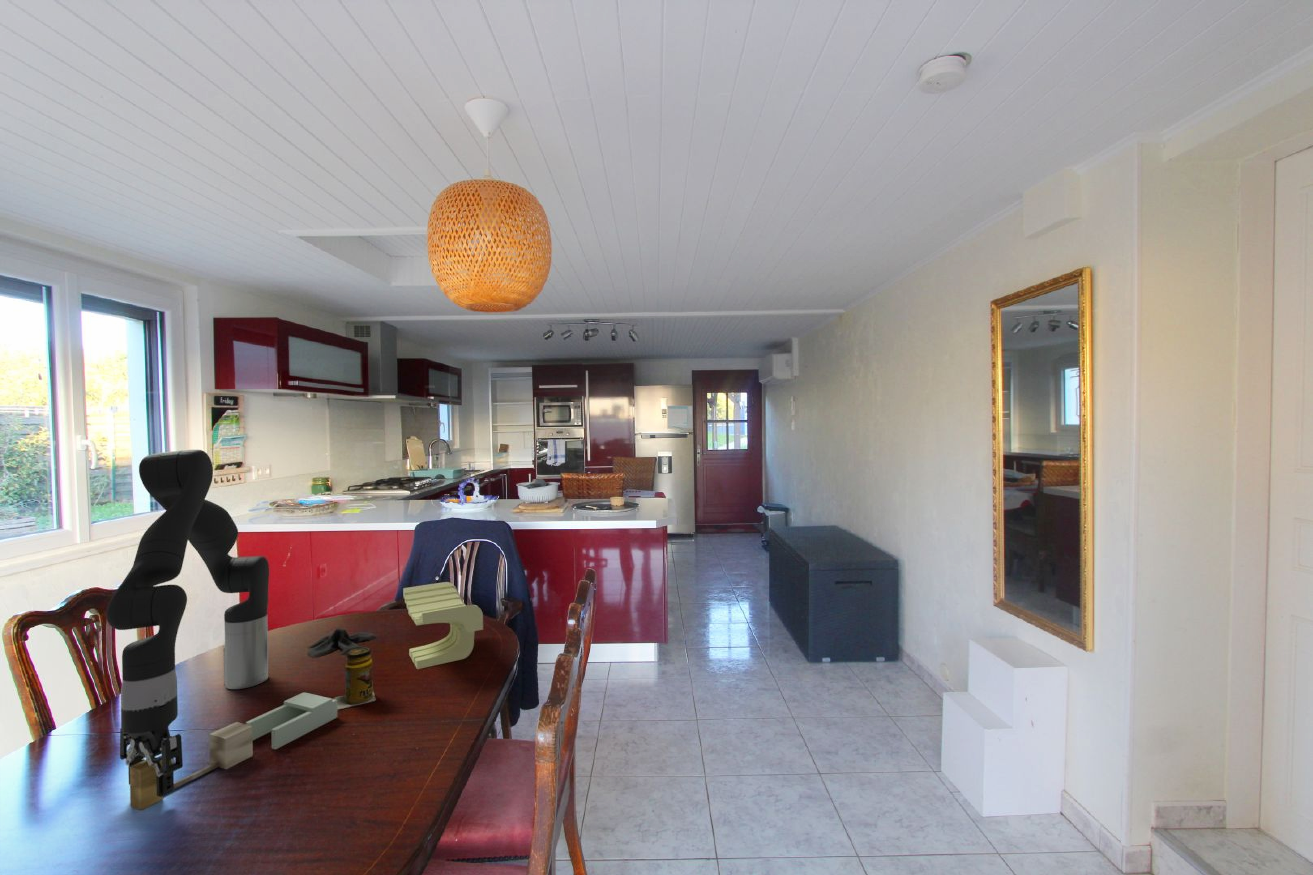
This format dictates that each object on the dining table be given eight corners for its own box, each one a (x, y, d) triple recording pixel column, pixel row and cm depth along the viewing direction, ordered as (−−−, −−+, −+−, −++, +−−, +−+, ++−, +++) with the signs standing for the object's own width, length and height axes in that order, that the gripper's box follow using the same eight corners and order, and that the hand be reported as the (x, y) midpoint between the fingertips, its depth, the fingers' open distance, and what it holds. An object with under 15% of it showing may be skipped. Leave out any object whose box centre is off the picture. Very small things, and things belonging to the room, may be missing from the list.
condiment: (376, 700, 137) (375, 652, 137) (336, 710, 132) (335, 660, 132) (372, 689, 143) (371, 643, 143) (334, 698, 138) (333, 650, 138)
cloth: (380, 633, 186) (380, 614, 186) (370, 653, 169) (370, 633, 169) (303, 641, 179) (303, 622, 179) (285, 663, 162) (285, 642, 162)
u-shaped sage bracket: (246, 740, 120) (245, 718, 119) (309, 710, 133) (308, 689, 133) (275, 749, 116) (275, 726, 116) (337, 717, 129) (337, 696, 129)
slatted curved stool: (483, 665, 157) (482, 602, 157) (423, 680, 148) (422, 613, 148) (456, 634, 182) (456, 580, 182) (404, 645, 174) (403, 588, 173)
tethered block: (127, 804, 99) (126, 765, 99) (236, 750, 116) (236, 717, 116) (144, 811, 97) (143, 771, 97) (252, 755, 114) (252, 721, 114)
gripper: (100, 700, 99) (102, 791, 99) (147, 715, 94) (149, 811, 94) (151, 683, 106) (153, 768, 106) (198, 695, 101) (199, 785, 101)
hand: (151, 788), depth 100 cm, fingers open, 8 cm apart
